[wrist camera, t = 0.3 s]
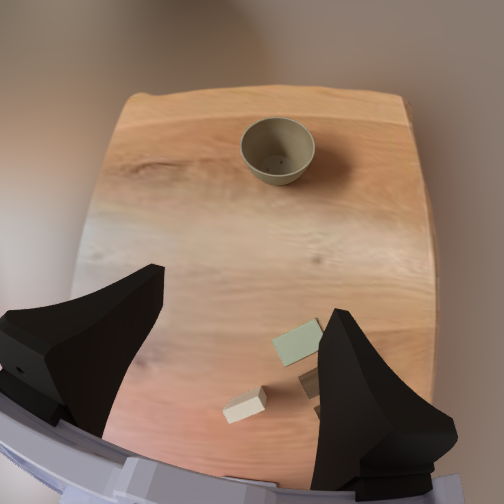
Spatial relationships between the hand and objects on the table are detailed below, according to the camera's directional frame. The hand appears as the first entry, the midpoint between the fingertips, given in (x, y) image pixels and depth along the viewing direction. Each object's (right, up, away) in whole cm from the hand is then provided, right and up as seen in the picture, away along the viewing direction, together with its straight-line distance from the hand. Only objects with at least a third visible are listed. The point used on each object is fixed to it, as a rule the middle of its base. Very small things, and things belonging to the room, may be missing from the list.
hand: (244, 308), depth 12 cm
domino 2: (+9, -14, +25) cm, 30 cm away
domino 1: (0, -17, +25) cm, 30 cm away
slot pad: (+7, -10, +26) cm, 29 cm away
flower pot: (+4, +15, +33) cm, 36 cm away
